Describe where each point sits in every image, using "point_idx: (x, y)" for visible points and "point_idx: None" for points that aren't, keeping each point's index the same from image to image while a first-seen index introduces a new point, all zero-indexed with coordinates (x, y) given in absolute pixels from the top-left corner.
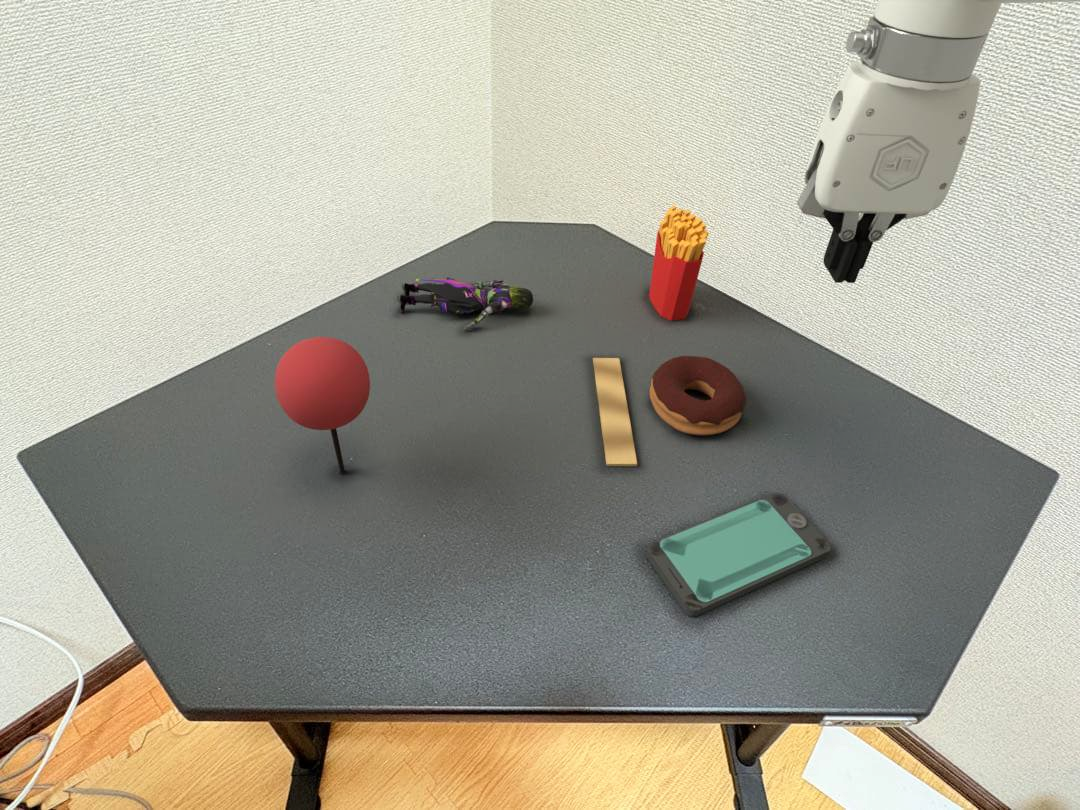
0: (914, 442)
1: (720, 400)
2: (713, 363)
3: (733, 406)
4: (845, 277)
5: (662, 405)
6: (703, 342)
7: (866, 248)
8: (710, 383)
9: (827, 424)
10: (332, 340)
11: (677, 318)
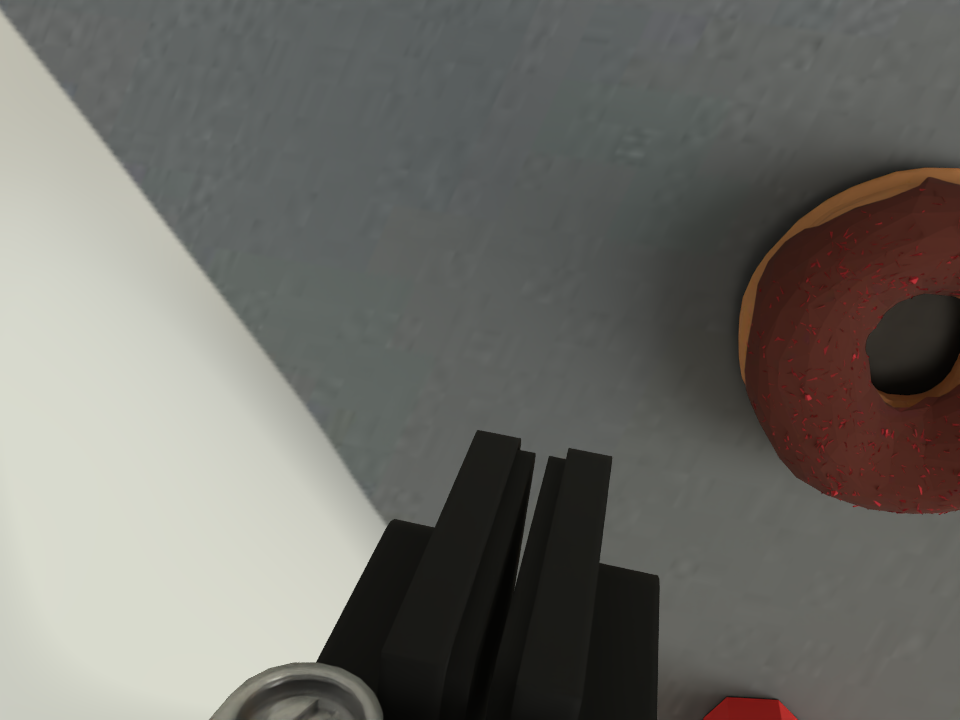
0: (231, 58)
1: (910, 261)
2: (830, 451)
3: (858, 234)
4: (550, 470)
5: None
6: (715, 593)
7: (411, 616)
8: (867, 373)
9: (475, 178)
10: None
11: (756, 702)
